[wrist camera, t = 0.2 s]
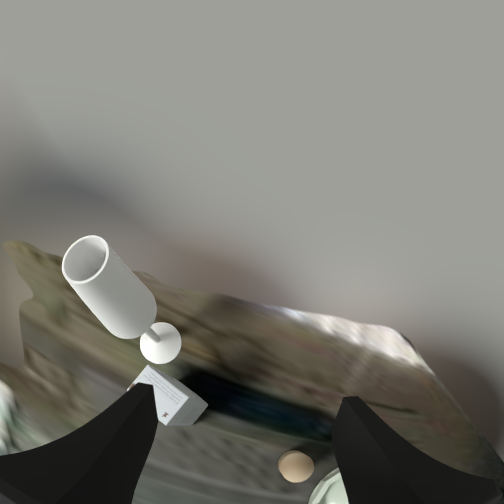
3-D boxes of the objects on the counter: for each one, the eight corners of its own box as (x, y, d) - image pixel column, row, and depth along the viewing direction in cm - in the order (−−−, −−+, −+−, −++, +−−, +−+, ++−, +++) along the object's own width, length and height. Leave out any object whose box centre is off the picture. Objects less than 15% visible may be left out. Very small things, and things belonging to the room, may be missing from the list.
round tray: (397, 526, 24) (404, 529, 22) (306, 546, 24) (310, 552, 22) (398, 451, 31) (406, 451, 29) (307, 468, 31) (310, 470, 29)
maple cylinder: (307, 474, 31) (314, 480, 27) (277, 476, 31) (281, 483, 27) (306, 448, 33) (313, 452, 29) (277, 451, 33) (280, 454, 29)
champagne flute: (182, 322, 44) (126, 223, 23) (181, 364, 40) (112, 295, 20) (141, 322, 43) (64, 229, 23) (138, 363, 40) (45, 294, 20)
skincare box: (209, 404, 37) (193, 396, 27) (191, 427, 35) (168, 428, 25) (175, 378, 39) (149, 360, 29) (157, 400, 37) (124, 390, 27)
